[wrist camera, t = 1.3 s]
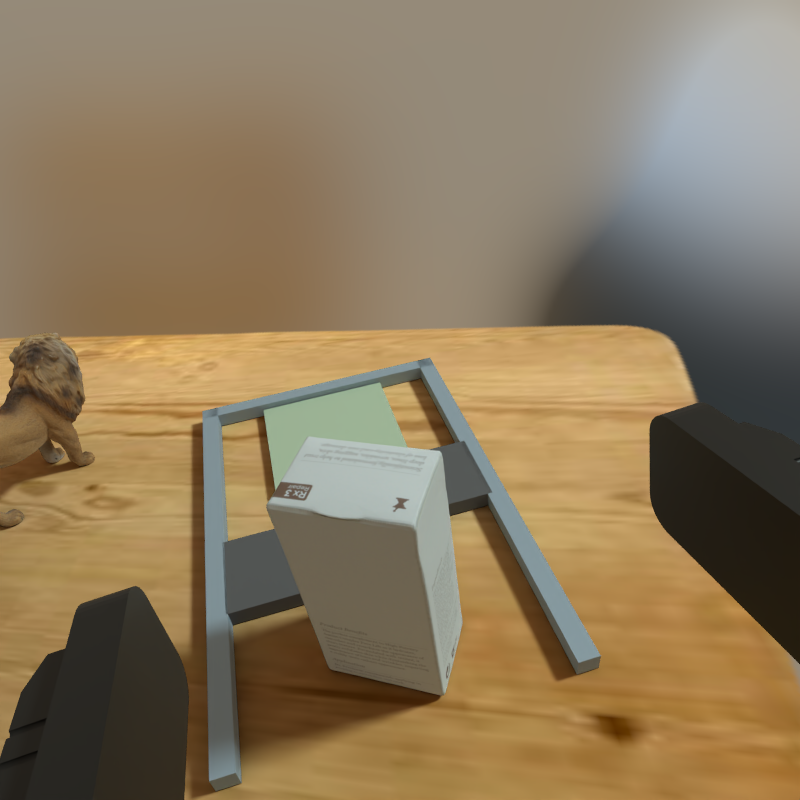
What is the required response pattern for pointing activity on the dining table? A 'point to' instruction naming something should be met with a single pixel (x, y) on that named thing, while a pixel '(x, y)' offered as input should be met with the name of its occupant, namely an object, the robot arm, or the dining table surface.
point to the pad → (330, 423)
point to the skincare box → (373, 558)
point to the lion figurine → (41, 406)
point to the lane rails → (217, 621)
